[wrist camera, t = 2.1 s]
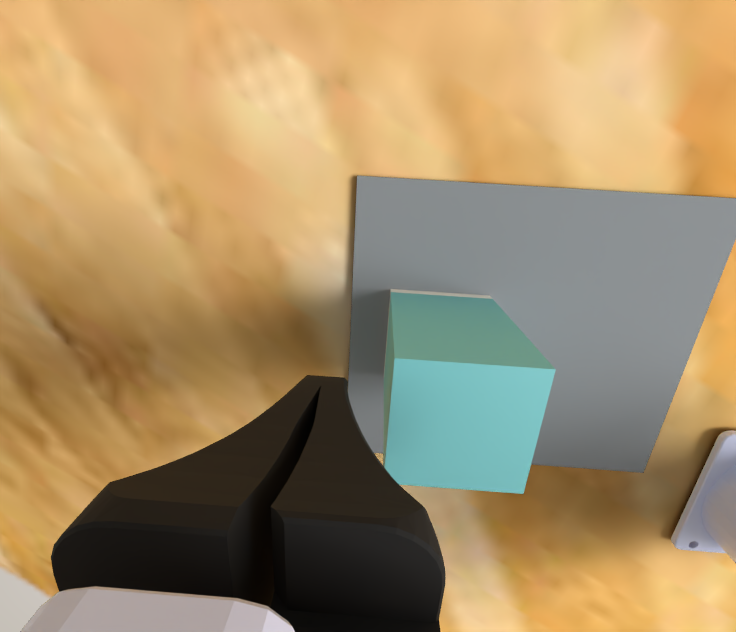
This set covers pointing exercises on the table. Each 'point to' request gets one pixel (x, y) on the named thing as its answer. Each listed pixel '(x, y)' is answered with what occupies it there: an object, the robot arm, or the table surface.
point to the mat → (549, 296)
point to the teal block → (460, 393)
